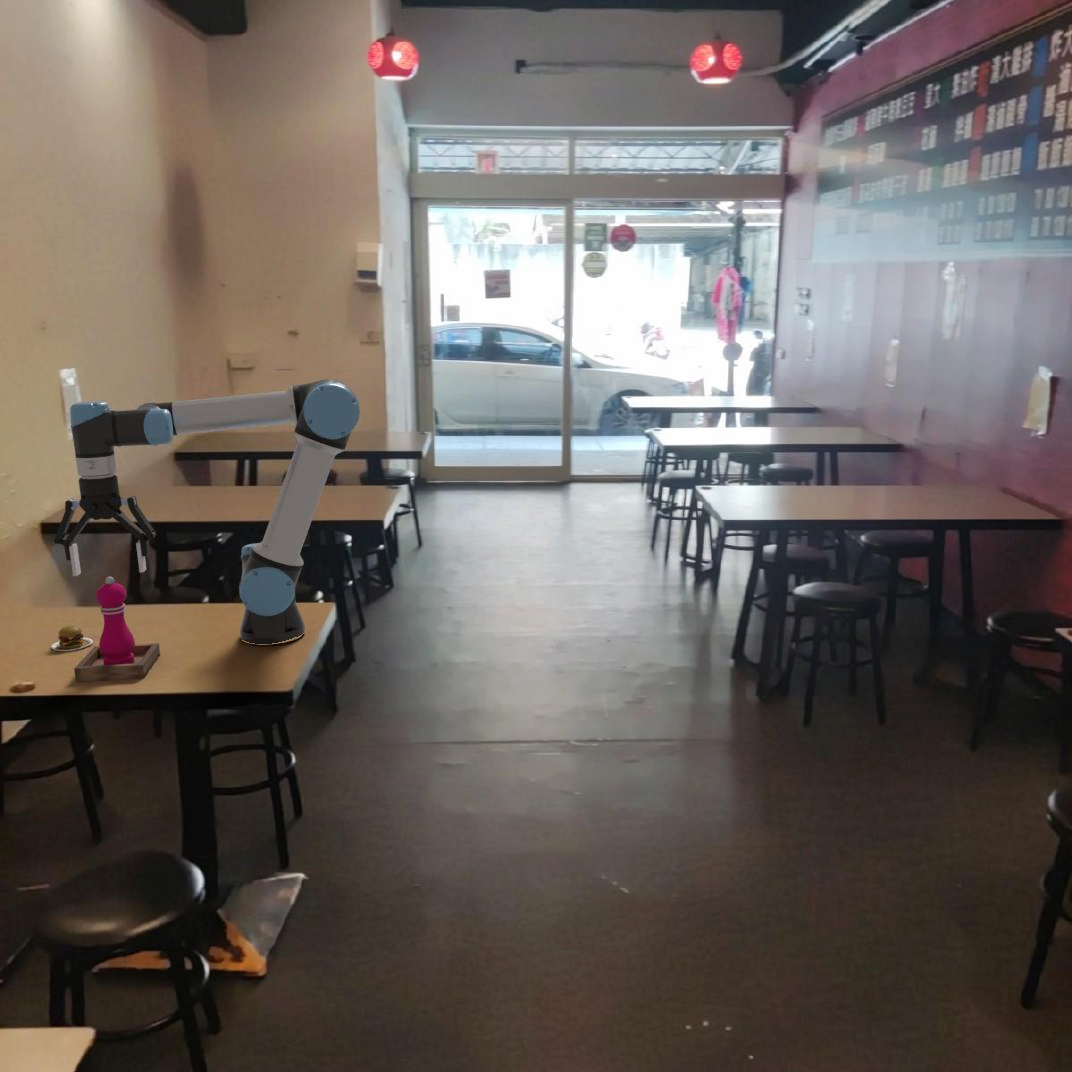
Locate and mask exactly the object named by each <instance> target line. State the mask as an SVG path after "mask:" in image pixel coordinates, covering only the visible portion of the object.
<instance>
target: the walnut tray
mask: <svg viewBox="0 0 1072 1072" xmlns="http://www.w3.org/2000/svg"><path fill="white" fill-rule="evenodd" d="M131 653H133V654H134V660H135V662H134V663H133V664H115V665H104V662H103V658H104V657H105V655H104V654H103V653H101V651H100V649H99V645H97V646H96V645H95V646H93V647H92V649H91V650H89V652H88V653H87V654H86V655H85V656H84V657H83V658H82V659H81V660H80V662H79V663H78V664H77V665H76V666H75V667H74V668H73V670H74V676H75V677H74V678H75V682H76V683H81V682H96V681H97V682H99V681H114V680H115V681H116V680H132V679H133V680H135V679H145V678H146V677H147V675H148V674H149V672H150V671H151V669H152V668H153V667H154V665H155V664H156V662H157V661H158V660H159V658H160V657H161V651H160V642H157V643H156V642H155V643H154V642H153V643H135V647H134V649H133V650H132V651H131ZM159 656H160V657H159ZM158 657H159V658H158ZM154 663H155V664H154ZM152 666H153V667H152ZM149 670H150V671H149Z"/></svg>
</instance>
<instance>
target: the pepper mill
mask: <svg viewBox="0 0 1072 1072" xmlns="http://www.w3.org/2000/svg"><path fill="white" fill-rule="evenodd" d="M95 596H96V597H95V598H96V601H97V602H98V604H100V606H99V608H100V614H102V616H103V629H102V633H101V635H100V638H99V645H98V646H99V649H100V651H101V653H103V654H104V655H105V657H104V658H103V662H104V665H115V664H133V663H134V662H135V660H134V654H133V653H131V651H132V650H133V649H134V647H135V644H136V641H135V637H134V635H133V633H132V632H131V630H130V628H129V627H128V625H127V623H126V619H125V612H126V603H124V602H125V601H126V599H127V591H126V589H125V586H123V585H122V584H120V583H117V582H115V579H114V577H112V576H107V577H106V578H105V584H102V585H101V586H99V587H98V589H97V591H96V593H95Z"/></svg>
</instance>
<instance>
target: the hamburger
mask: <svg viewBox="0 0 1072 1072" xmlns="http://www.w3.org/2000/svg"><path fill="white" fill-rule="evenodd" d="M57 639H58V640H59V641H57V642H55V643H52V645H51V647H50V648H51V649H52V650H53V651H54V650H55V651H58V652H70V651H71V652H72V651H78V650H81V649H84V648H87V647H88V646H90V645H92V644H93V642H94V640H93V639H91V638H90V637H85V636H84V633H83V631H82V629H81V627H78V626H76V625H66V626H63V627H62V628H60V630H59V631H58V636H57ZM84 641H85V642H87V643H88V645H85V646H83V643H84ZM57 645H58V646H60V648H62V649H57V648H56V647H58V646H57ZM81 646H82V647H81Z"/></svg>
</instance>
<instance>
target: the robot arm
mask: <svg viewBox="0 0 1072 1072" xmlns="http://www.w3.org/2000/svg"><path fill="white" fill-rule="evenodd" d="M360 410H361V409H360V403H359V401H358V398H357V396H356V394H355V393H354V392H353V391H352V389H351V388H350V387H348V386H347V385H345V384H344V383H343V382H341V381H340V380H336V379H331V378H327V379H326V378H325V379H321V380H317V381H313V382H309V383H304V384H302V383H301V384H298V385H297V384H296V385H290V386H289V387H288V388H287V390H281V391H271V392H261V393H249V394H242V395H241V394H240V395H239V394H238V395H231V396H230V395H229V396H219V397H209V398H208V397H207V398H199V399H190V400H189V399H188V400H177V401H172V402H171V401H170V402H159V403H158V402H147V403H144V404H142V405H141V404H140V405H139V406H138V407H137V408H136V409H127V410H111V408H110V407H109V403H108V402H107V401H102V400H101V401H93V400H92V401H91V400H90V401H81V402H76V403H75V402H74V403H73V404H71V406H70V408H69V411H70V412H69V413H70V429H71V433H72V442H73V448H74V455H75V464H76V469H77V475H78V476H79V479H78V487H79V493H80V494H79V495H80V500H78V499H74V498H69V499H68V500H66V501H65V504H64V507H65V509H64V510H65V511H64V513H63V516H62V517H61V520H60V524H59V526H58V528H57V531H56V534H55V536H54V539H53V543H54V544H56V545H61V546H63V547H64V553H65V559H66V561H70V563H71V569H72V577H77V576H79V575H80V574H81V573H82V571H81V563H80V555H79V550H78V549H79V547H78V543H74V541H75V540H76V539H77V537H78V536H79V535H80V533H81V532H82V531H83V529H84V528H85V526H86V525H87V524H88V522H89V521H90V520H91V519H92V520H94V521H98V520H101V519H102V520H110V519H112V518H113V520H115V521H117V522H118V523H120V524H121V526H123V527H124V528H125V529H126V530H127V531H128V532H129V533H130V534H131V535H133V537H134V538H136V539H137V540H138V541H137V542H136V543H135V546H136V552H137V553H136V554H137V561H138V562H137V564H138V572H139V573H144V572H145V571H147V563H146V561H147V560H146V557H148V556H149V554H150V549H149V540H153V539H154V538H155V537H156V536H157V532H156V531H155V529H154V528H153V526H152V524H151V523H150V522H149V520H148V519H147V517H146V516H145V514H144V512H143V511H142V509H141V508H140V507H139V505H138V502H137V501H138V500H137V497H136V496H135V495H130V497H124V498H122V497H121V495H120V488H119V479H118V476H117V475H116V474H117V465H116V464H117V463H116V457H115V456H116V455H115V450H114V449H115V447H131V446H132V447H133V446H154V447H156V446H159V445H165V444H166V445H167V444H170V443H172V441H173V439H174V437H175V436H182V435H190V434H201V433H210V432H212V433H213V432H221V431H222V432H223V431H231V430H241V429H249V428H260V427H261V428H262V427H269V426H270V427H271V426H282V425H292V426H294V427H295V428H294V431H293V433H294V435H295V439H296V440H297V444H296V447H295V449H294V452H293V454H292V457H291V461H290V463H289V466H288V469H287V472H286V474H285V477H284V479H283V483H282V486H281V488H280V492H279V494H278V497H277V500H276V501H275V504H274V508H273V511H272V514H271V516H270V519H269V521H268V525H267V527H266V529H265V534H264V536H263V539H262V541H261V542H258V543H257V542H256V543H255V542H254V543H249V544H246V545H244V546H242V548H241V554H240V558H241V562H242V565H241V566H242V573H241V578H240V582H239V585H238V593H239V596H240V599H241V602H242V604H243V605H244V607H245V609H244V613H243V617H242V619H241V620H242V621H241V625H240V629H239V633H240V640H241V639H242V640H244V641H246V642H249V643H255V644H272V643H278V642H282V641H286V640H289V639H292V638H294V637H298V636H300V635H302V634H303V633H304V631H305V632H306V626H305V622H304V619H303V617H302V615H301V612H300V610H299V607H298V605H297V603H296V600H297V599H296V586H297V583H298V581H299V577H300V574H301V571H302V569H303V567H304V563H305V562H304V559H303V558H302V556H301V551H302V549H303V545H304V543H305V540H306V537H307V535H308V531H309V529H310V526H311V523H312V520H313V518H314V515H315V513H316V510H317V507H318V504H319V503H320V502H319V501H320V498H321V496H322V493H323V490H324V488H325V485H326V483H327V480H328V476H329V474H330V471H331V468H332V466H333V462H334V460H335V458H336V456H337V455H338V454H340V453H342V452H344V451H345V450H346V448H347V444H348V442H349V439H350V436H351V433H352V431H353V430H354V429H355V428H356V427H357V425H358V422H359V419H360V414H361V411H360ZM122 505H124V506H125V507H126V508H128V510H129V512H130V513H131V515H132V516H133V517H134V519H135V521H136V522H137V524H138V525H139V526H140V527H138V525H137V524H136V523H134V522H133V520H131V519H130V518H129V517H128V516H127V515H126V513H125V512H124V511H123V510H122V509H121V507H122ZM79 507H80V508H81V509H82V510H83V511H84V514H83V515H82V516H81V518H80V519H79V521H78V522H77V523H76V525H75V526H74V528H73V529H72V531H70V533H69V534H68V535H67V536H66V534H67V531H68V529H69V527H70V525H71V522H72V519H73V517H74V514H75V512H76V510H77V509H78V508H79ZM242 640H241V641H242Z"/></svg>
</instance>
